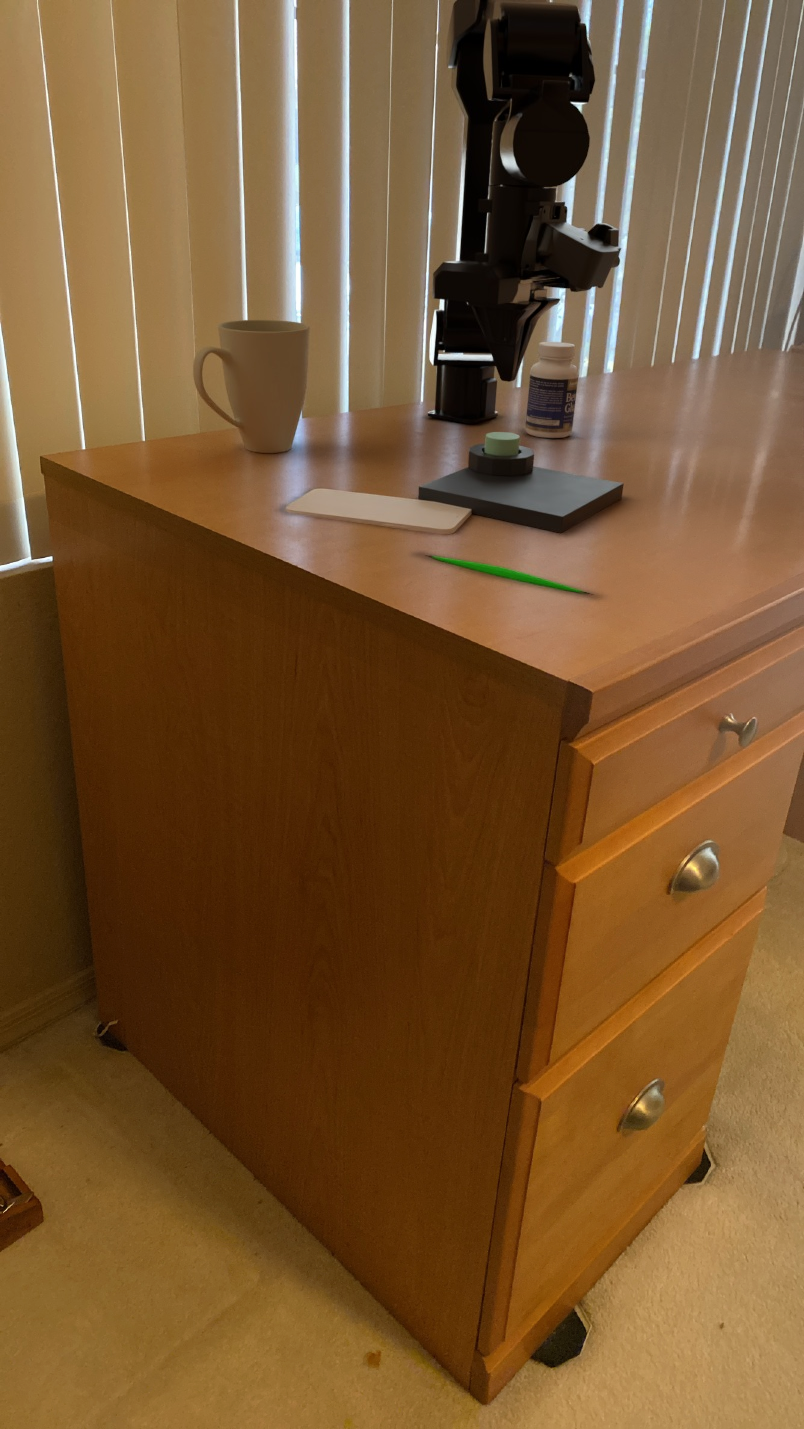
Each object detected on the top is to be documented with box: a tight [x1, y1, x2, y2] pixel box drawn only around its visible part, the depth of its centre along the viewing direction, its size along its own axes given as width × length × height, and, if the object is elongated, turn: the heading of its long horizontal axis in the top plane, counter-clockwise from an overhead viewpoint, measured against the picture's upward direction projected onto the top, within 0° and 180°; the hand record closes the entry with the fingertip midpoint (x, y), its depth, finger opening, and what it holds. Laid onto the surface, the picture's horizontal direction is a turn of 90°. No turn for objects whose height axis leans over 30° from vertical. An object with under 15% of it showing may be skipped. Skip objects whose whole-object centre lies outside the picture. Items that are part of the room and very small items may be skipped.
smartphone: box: [285, 487, 473, 535], centre depth 84 cm, size 7×1×15 cm
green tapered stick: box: [424, 554, 595, 596], centre depth 71 cm, size 1×14×1 cm, turn 58°
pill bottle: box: [524, 341, 579, 439], centre depth 110 cm, size 5×5×10 cm
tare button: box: [484, 431, 521, 456], centre depth 92 cm, size 3×3×2 cm
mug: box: [192, 319, 310, 454], centre depth 99 cm, size 11×10×12 cm
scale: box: [417, 443, 625, 534], centre depth 88 cm, size 14×14×3 cm
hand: (507, 380), depth 89 cm, fingers closed
